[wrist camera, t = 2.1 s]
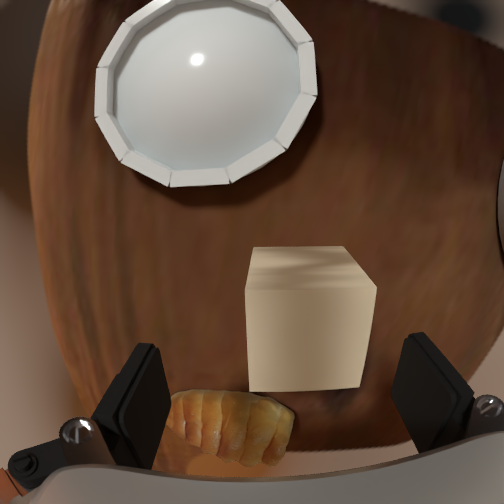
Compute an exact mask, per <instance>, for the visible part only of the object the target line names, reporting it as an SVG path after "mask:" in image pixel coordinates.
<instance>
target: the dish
mask: <svg viewBox="0 0 504 504" xmlns="http://www.w3.org/2000/svg"><path fill="white" fill-rule="evenodd" d="M125 21H126V23H124V22H123V23H122V25H121V26H120V28H119V29H118V31H117V33H116V34H115V36H114V38H113V39H112V41H111V43H110V44H109V46H108V48H107V49H106V51H105V53H104V55H103V56H102V58H101V60H100V62H99V64H98V67H100V68H97V69H96V85H95V117H97V118H96V119H95V120H96V122H97V123H98V125H99V127H100V129H101V131H102V132H103V134H104V136H105V138H106V139H107V141H108V143H109V145H110V146H111V148H112V150H113V152H114V153H115V155H116V157H117V158H118V160H119V161H121V163H122V164H124V165H126V166H128V167H130V168H132V169H134V170H136V171H138V172H140V173H142V174H144V175H146V176H148V177H150V178H152V179H154V180H156V181H157V182H159V183H161V184H163V185H165V186H167V187H168V186H170V187H181V186H208V185H217V184H230V183H233V182H235V181H237V180H238V179H240V178H242V177H244V176H246V175H248V174H250V173H252V172H254V171H256V170H258V169H260V168H262V167H263V166H264V165H266V164H267V163H269V162H270V161H272V160H273V159H274V158H275V157H277V156H278V155H280V154H282V153H283V152H285V150H287V149H288V147H289V145H290V144H291V142H292V140H293V139H294V138H295V136H296V135H297V133H298V132H299V130H300V129H301V127H302V126H303V124H304V122H305V120H306V117H307V115H308V113H309V110H310V109H311V107H312V105H313V103H314V102H315V100H316V96H317V80H316V66H315V54H314V42H312V38H311V37H310V36H309V34H308V33H307V32H306V31H305V29H304V28H303V27H302V26H301V25H300V23H299V22H298V21H297V20H296V18H295V17H294V16H293V15H292V14H291V13H290V11H289V10H288V9H287V8H286V7H285V6H284V4H283V3H282V2H281V1H280V0H279V1H277V0H154V1H152V2H150V3H149V4H147V5H146V6H144V7H143V8H142V9H140V10H139V11H137V12H136V13H134V14H133V15H132V16H130V17H129V18H127V19H126V20H125ZM284 149H285V150H284Z"/></svg>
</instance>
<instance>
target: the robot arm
mask: <svg viewBox="0 0 504 504" xmlns="http://www.w3.org/2000/svg"><path fill="white" fill-rule="evenodd" d="M498 223H499V233H500V238H501V243H502V248H503V251H504V161H503V164H502V170H501V175H500V181H499V193H498ZM473 395H474V392H473V390H472V389H471V388H470V386H469V385H468V384H467V383H466V381H465V380H464V379H463V378H462V376H461V375H460V374H459V373H458V372H457V370H456V369H455V368H454V367H453V366H452V364H451V363H450V362H449V361H448V360H447V358H446V357H445V356H444V355H443V354H442V353H441V351H440V350H439V349H438V348H437V347H436V346H435V345H434V343H433V342H432V341H431V340H430V339H429V338H428V337H427V335H426V334H425V333H424V332H419V333H412V334H409V336H408V338H405V340H404V343H403V347H402V351H401V355H400V359H399V363H398V367H397V371H396V374H395V378H394V381H393V385H392V388H391V397H392V399H393V401H394V403H395V405H396V407H397V409H398V411H399V413H400V415H401V417H402V419H403V421H404V423H405V425H406V427H407V430H408V432H409V434H410V436H411V438H412V440H413V442H414V444H415V446H416V448H417V450H418V453H419V454H416V455H413V456H409V457H405V458H401V459H398V460H393V461H389V462H385V463H380V464H376V465H371V466H366V467H360V468H355V469H349V470H343V471H336V472H328V473H320V474H311V475H299V476H285V477H253V478H252V477H251V478H247V477H244V478H243V477H242V478H241V477H213V476H199V475H188V474H178V473H169V472H161V471H154V470H151V469H152V465H153V462H154V459H155V456H156V453H157V449H158V446H159V443H160V440H161V437H162V434H163V431H164V428H165V424H166V421H167V418H168V415H169V412H170V409H171V397H170V393H169V389H168V385H167V381H166V377H165V372H164V368H163V364H162V359H161V355H160V350H159V348H155V346H154V344H150V343H138V344H137V346H136V347H135V349H134V350H133V352H132V354H131V355H130V357H129V359H128V360H127V362H126V363H125V365H124V367H123V368H122V370H121V372H120V373H119V374H117V375H116V376H115V378H114V379H113V381H112V383H111V384H110V386H109V388H108V389H107V391H106V393H105V394H104V396H103V398H102V399H101V401H100V403H99V404H98V406H97V408H96V410H95V411H94V413H93V415H92V416H91V418H87V417H75V418H72V419H69V420H67V421H66V422H65V423H64V424H63V425H62V426H61V427H60V430H59V438H58V439H55V440H52V441H50V442H46V443H43V444H40V445H37V446H34V447H31V448H28V449H24V450H21V451H18V452H16V453H15V454H14V455H12V456H11V458H10V460H9V462H8V469H6V470H4V469H3V468H1V469H0V504H504V403H503V401H501V399H499V398H497V397H495V396H492V395H482V396H479V397H477V398H476V399H475V398H474V397H473Z"/></svg>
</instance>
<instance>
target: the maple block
mask: <svg viewBox="0 0 504 504" xmlns="http://www.w3.org/2000/svg"><path fill="white" fill-rule="evenodd" d="M376 290H377V287H376V286H375V285H374V283H373V282H372V281H371V280H370V278H369V277H368V276H367V275H366V273H365V272H364V271H363V270H362V269H361V267H360V266H359V265H358V264H357V263H356V261H355V260H354V259H353V258H352V257H351V255H350V254H349V253H348V252H347V251H346V249H345V248H344V247H343V246H317V247H253V252H252V257H251V262H250V267H249V272H248V278H247V283H246V288H245V304H246V327H247V349H248V370H249V390H250V392H289V391H315V390H331V389H344V388H354V387H359V386H360V382H361V377H362V373H363V368H364V363H365V358H366V353H367V348H368V342H369V337H370V331H371V325H372V319H373V312H374V305H375V298H376Z"/></svg>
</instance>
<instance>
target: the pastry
mask: <svg viewBox="0 0 504 504" xmlns="http://www.w3.org/2000/svg"><path fill="white" fill-rule="evenodd" d="M294 418H295V416H294V413H293V412H292V411H291V410H290V409H288V408H287V407H285V406H284V405H282V404H280V403H279V402H278V401H276V400H275V399H273V398H271V397H269V396H268V397H262V396H258V395H255V394H254V393H249V392H240V391H236V392H232V391H226V390H223V391H221V390H202V389H192V390H188V391H183V392H177V393H175V394H174V395H173V396H171V409H170V412H169V415H168V418H167V421H166V424H167V426H169V427H170V428H171V430H172V431H173V432H174V433H175V434H176V435H178V436H180V437H181V438H183V439H184V440H185V441H186V442H187V443H188V444H190V445H193V446H197V447H199V448H200V449H201V450H202V451H203V452H204V453H205V454H214V455H216V456H217V457H219V458H221V459H222V460H223V461H224V462H226V463H227V462H231V461H234V460H235V461H238V462H239V463H241V464H242V465H244V466H246V467H251V466H253V465H255V464H257V463H263V464H266V465H268V466H275V465H277V464H278V463H279V461H280V460H281V459H282V457H283V456H284V454H285V450H286V446H287V444H288V442H289V438H290V434H291V430H292V427H293V420H294Z"/></svg>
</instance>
